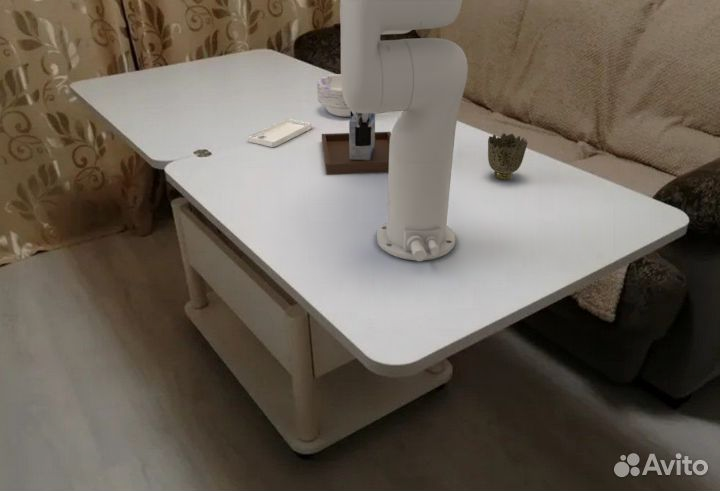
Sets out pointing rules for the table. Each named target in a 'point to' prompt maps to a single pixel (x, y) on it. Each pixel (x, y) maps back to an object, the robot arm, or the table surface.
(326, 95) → the paper bowls
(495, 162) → the cup
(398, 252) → the robot arm
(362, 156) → the medicine box
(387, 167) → the tray
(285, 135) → the phone case
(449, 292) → the table surface
